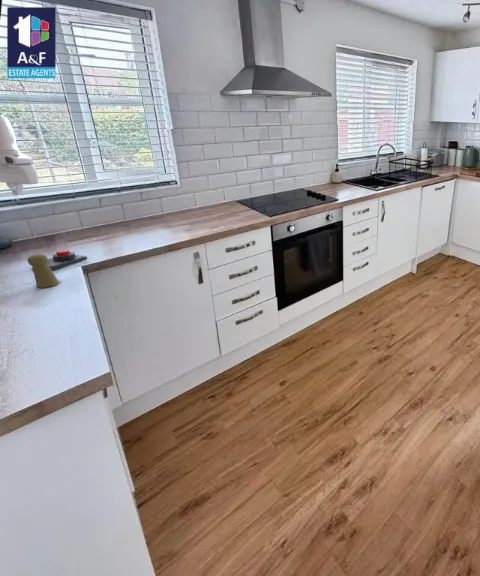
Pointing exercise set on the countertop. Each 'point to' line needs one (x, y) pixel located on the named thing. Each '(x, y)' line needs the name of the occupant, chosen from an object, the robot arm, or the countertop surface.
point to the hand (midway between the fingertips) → (18, 194)
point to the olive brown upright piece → (42, 271)
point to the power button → (62, 252)
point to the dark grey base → (64, 260)
